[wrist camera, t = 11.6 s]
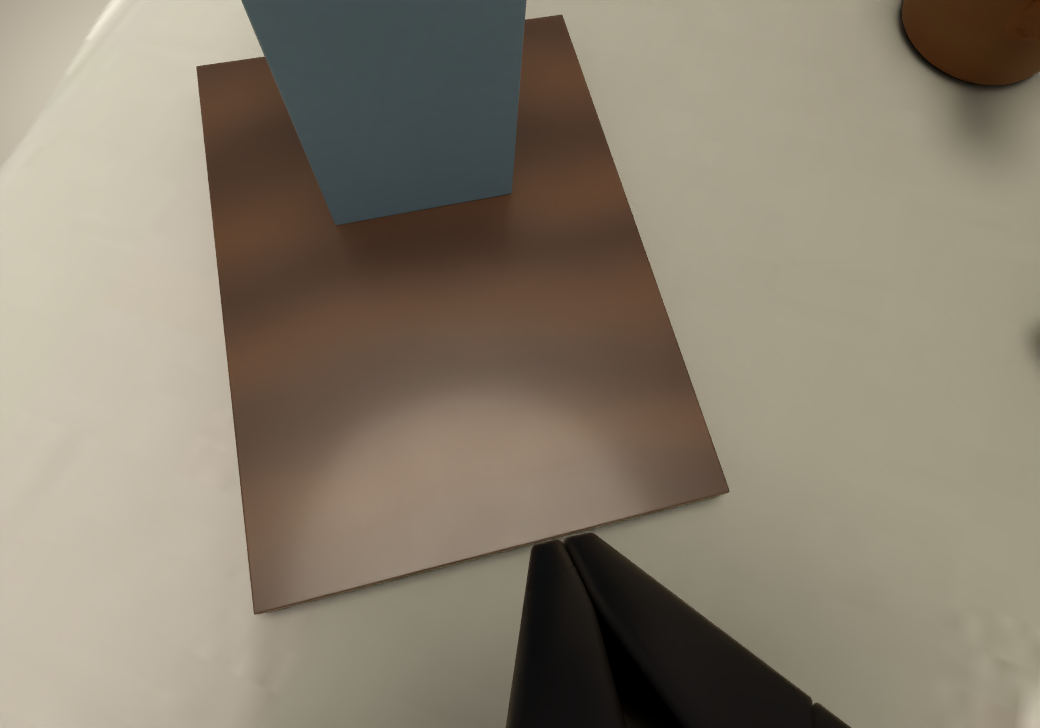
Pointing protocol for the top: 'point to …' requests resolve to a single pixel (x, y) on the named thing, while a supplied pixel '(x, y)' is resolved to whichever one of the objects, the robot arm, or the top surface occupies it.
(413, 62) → the pen caddy
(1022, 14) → the mug
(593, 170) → the walnut board
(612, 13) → the top surface
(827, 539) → the top surface
